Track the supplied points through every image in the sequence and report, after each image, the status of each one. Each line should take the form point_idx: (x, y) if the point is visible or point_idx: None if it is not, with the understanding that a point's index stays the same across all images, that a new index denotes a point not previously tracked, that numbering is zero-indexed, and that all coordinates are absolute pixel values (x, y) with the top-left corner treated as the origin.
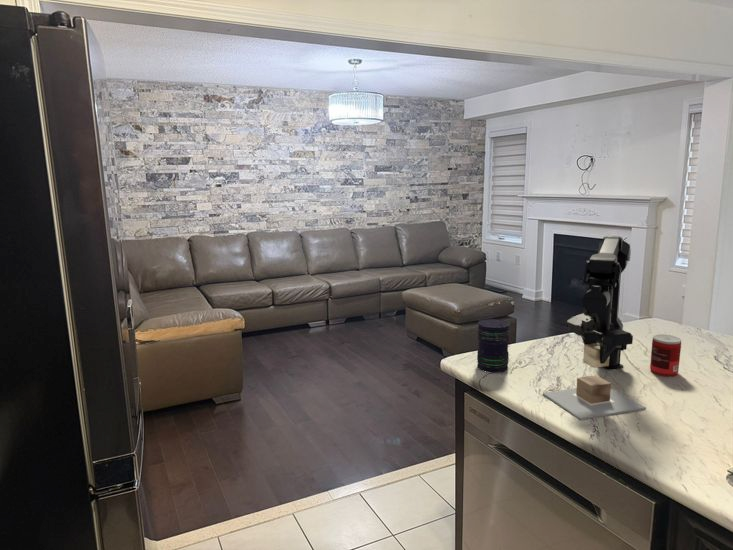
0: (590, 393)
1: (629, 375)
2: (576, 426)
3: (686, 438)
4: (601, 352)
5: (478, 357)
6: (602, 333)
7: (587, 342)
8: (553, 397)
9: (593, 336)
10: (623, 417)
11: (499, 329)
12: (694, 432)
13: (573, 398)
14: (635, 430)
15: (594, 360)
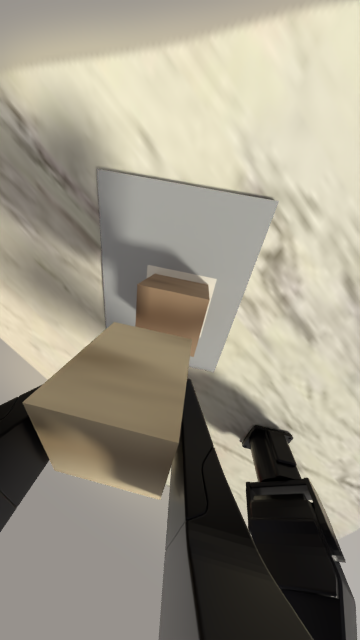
0: (150, 279)
1: (215, 426)
2: (69, 117)
3: (11, 307)
4: (22, 401)
5: None
6: None
7: (182, 484)
8: (233, 207)
9: (168, 593)
10: (90, 285)
11: None
12: (29, 333)
13: (196, 259)
14: (39, 257)
15: (96, 343)
